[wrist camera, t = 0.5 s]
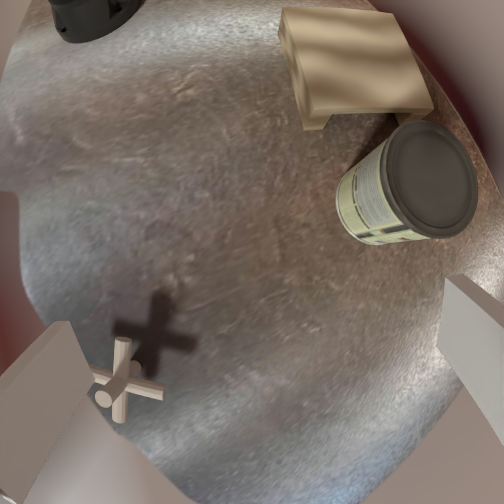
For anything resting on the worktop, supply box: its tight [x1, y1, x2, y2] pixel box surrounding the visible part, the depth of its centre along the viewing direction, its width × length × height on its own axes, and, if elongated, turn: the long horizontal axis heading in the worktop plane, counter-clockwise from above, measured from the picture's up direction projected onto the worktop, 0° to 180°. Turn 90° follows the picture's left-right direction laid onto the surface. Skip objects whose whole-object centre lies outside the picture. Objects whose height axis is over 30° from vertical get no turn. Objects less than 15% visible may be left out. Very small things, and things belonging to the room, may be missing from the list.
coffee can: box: [336, 120, 478, 245], centre depth 29 cm, size 10×10×14 cm
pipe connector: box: [88, 337, 166, 423], centre depth 30 cm, size 10×10×10 cm
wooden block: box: [278, 7, 434, 131], centre depth 34 cm, size 16×16×6 cm
